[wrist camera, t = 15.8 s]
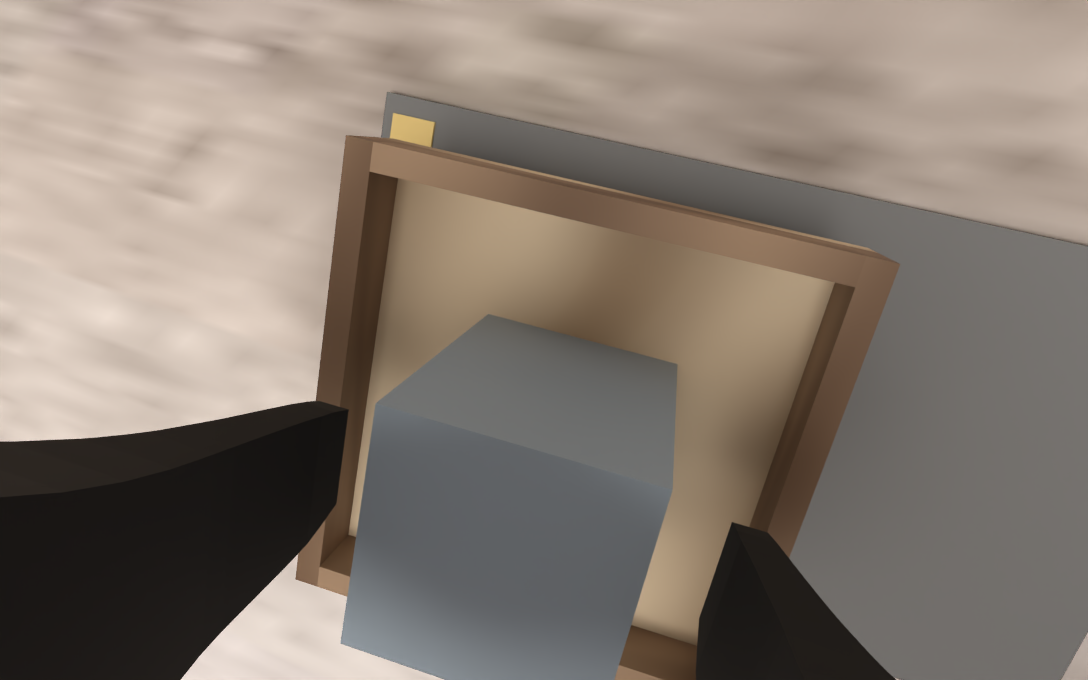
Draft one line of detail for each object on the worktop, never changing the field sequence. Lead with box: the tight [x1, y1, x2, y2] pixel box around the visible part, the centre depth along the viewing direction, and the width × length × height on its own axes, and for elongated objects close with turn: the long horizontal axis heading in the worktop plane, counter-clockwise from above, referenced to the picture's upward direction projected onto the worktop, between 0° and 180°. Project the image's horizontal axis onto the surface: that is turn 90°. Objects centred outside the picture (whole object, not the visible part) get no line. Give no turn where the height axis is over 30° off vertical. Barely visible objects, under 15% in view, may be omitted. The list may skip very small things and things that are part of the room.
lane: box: [381, 92, 1088, 680], centre depth 19 cm, size 22×13×1 cm, turn 78°
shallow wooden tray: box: [296, 135, 900, 680], centre depth 17 cm, size 11×11×5 cm
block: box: [341, 314, 677, 680], centre depth 13 cm, size 4×4×6 cm
